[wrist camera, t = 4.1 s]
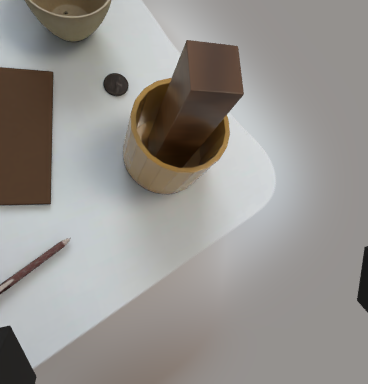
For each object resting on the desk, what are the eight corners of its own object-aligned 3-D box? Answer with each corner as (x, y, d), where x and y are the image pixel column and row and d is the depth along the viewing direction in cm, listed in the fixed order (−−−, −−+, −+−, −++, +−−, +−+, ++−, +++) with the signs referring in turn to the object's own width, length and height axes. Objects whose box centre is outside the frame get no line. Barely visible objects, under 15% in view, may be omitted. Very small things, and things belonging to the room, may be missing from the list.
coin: (129, 77, 42) (106, 71, 41) (130, 76, 42) (106, 70, 41) (125, 98, 41) (101, 92, 41) (126, 97, 41) (101, 91, 40)
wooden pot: (124, 194, 39) (132, 172, 30) (121, 115, 41) (129, 74, 32) (205, 193, 41) (234, 172, 33) (199, 119, 43) (224, 82, 35)
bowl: (79, -20, 44) (76, -74, 37) (126, 38, 43) (132, -5, 37) (10, 9, 40) (-7, -44, 34) (60, 72, 40) (54, 32, 33)
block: (149, 168, 40) (190, 90, 23) (147, 137, 40) (186, 39, 24) (181, 169, 41) (244, 94, 24) (179, 138, 41) (238, 45, 25)
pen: (-27, 315, 32) (-31, 316, 31) (-32, 308, 32) (-36, 309, 31) (73, 241, 36) (72, 240, 35) (68, 235, 36) (68, 234, 35)
